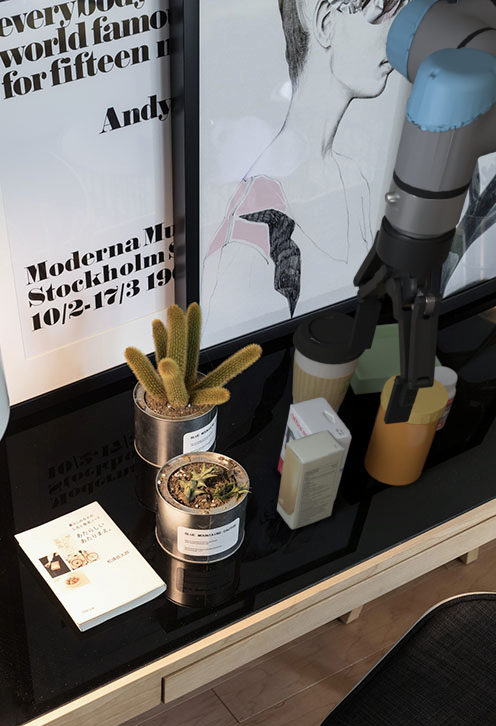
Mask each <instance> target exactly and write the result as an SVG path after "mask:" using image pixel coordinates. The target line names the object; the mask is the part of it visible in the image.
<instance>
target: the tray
mask: <svg viewBox="0 0 496 726" xmlns="http://www.w3.org/2000/svg"><path fill="white" fill-rule="evenodd" d="M438 366H442V364H441V361H440V360H439V359H438V357H437V356H436V360H435V367H438ZM442 367H443V366H442ZM398 374H400V353H399V330H398V322H397V323H390V324H388V323H387V324H379V325H378V324H377V326H376V330H375V334H374V338H373V342H372V346H371V349H365V351H364V352H363V354H362V355H361V356H360V357H359V358H358V361H357V366H356V369H355V371H354V374H353V376H352V379H351V381H350V384H349V385H350V386H351V388H352V390H353V393H354V395H364V394H372V393H382V391H383V387H384V385H385V383H386V382H387V381H388V380H389V379H390V378H391V377H393V376H395V375H398Z"/></svg>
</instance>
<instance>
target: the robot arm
mask: <svg viewBox="0 0 496 726" xmlns="http://www.w3.org/2000/svg"><path fill="white" fill-rule="evenodd" d="M385 57H386V61H387V62H388V64H389V66H390V67H391V68H392V69H393V70H395V71H396V72H397V73H399V74H400V75H401V76H402V77H403V78H405V80H406V81H407V82H408V83H410V84H412V88H411V92H410V95H409V97H408V99H407V102H406V107H405V115H404V120H403V124H402V129H401V134H400V139H399V144H398V149H397V154H396V158H395V163H394V167H393V171H392V177H391V181H390V185H389V189H388V192H386V193H385V194H384V201H385V207H384V215H383V216H382V218H381V222H380V226H379V230H376V233H375V236H374V239H373V243H372V246H371V247H370V249H369V251H368V253H367V255H366V256H365V258H364V259H363V261H362V263H361V265H360V267H359V268H358V270H357V271H356V273H355V276H353V279H352V284H353V286H354V287H355V288H358V290H357V291H356V298H357V300H358V302H357V307H356V310H355V315H354V323H353V327H352V332H351V336H350V341H349V345H348V349H349V351H357V350H365V349H371V346H372V342H373V338H374V334H375V330H376V326H378V322H379V317H380V314H381V310H382V306H383V304H382V303H383V302H381V300H376V299H385V297H386V296H385V294H386V293H387V295H388V296H389V297H390V298H391V302H392V313H393V314H392V315H393V318H394V320H396V321H397V323H398V330H399V353H400V375H397V376H396V378H395V379H394V385H393V388H392V392H391V395H390V399H389V402H388V406H387V409H386V413H385V417H384V422H385V424H393V423H402V422H408V421H409V417H410V414H411V411H412V408H413V404H414V403H415V399H416V396H417V393H418V390H419V389H420V388H428V387H433V385H434V374H435V360H436V357H437V345H438V344H437V343H438V329H439V317H440V313H441V308H442V305H443V296H442V294H441V293H434V294H433V293H431V291H430V288H431V275H432V274H433V272H435V271H436V270H437V269H438V268H440V267H442V266H443V265H444V264H445V263H446V262H447V261H448V258H449V256H450V253H451V249H452V246H453V242H454V240H455V236H456V233H457V226H458V225H459V224H460V220H461V217H462V213H463V210H464V206H465V203H466V199H467V197H468V192H469V190H470V187H471V183H472V180H473V176H474V172H475V169H476V167H477V163H478V160H479V159H480V158H481V157H484V156H487V155H490V154H495V153H496V0H459V1H457V2H454V3H449V2H448V1H447V0H410V1H409V2H407V3H406V4H405V5H404V6H403V7H402V8H401V9H400V10H399V11H398V13H397V14H396V16H395V17H394V19H393V20H392V22H391V24H390V27H389V29H388V32H387V36H386V42H385ZM409 307H410V308H411V309H410V310H404V309H403V308H409Z"/></svg>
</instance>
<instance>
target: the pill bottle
mask: <svg viewBox="0 0 496 726" xmlns="http://www.w3.org/2000/svg"><path fill="white" fill-rule="evenodd" d="M434 379H436V380H437V381H439V382H440V383H441V384H442V385H443V386H444V387H445V389H446V390H447V393H448V402H447V405H446V409H445V412H444V413H443V414H442V416H441V419H440V422H439V425H438V428H437V430H436V431H438V430H439V431H440V430H441V429H442V428H443V427H444V426H445V424H446V421H447V418H448V415H449V413H450V410H451V407H452V404H453V402H454V399H455V396H456V392H457V389H456V386H457V381H458V374H457V373H456V371H455V370H453V368H450V367H447V366H438V367H435V374H434Z"/></svg>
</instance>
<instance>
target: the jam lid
mask: <svg viewBox="0 0 496 726" xmlns="http://www.w3.org/2000/svg"><path fill="white" fill-rule="evenodd" d="M398 375H400V374H398ZM396 376H397V375H395V376H393V377H391V378H390V379H389V380H388V381H387V382H386V383H385V385H384V387H383V391H382V392H381V394H380V402H381V404H382V407H383V409H384V410H385V411H386V409H387V406H388V402H389V399H390V395H391V392H392V388H393V385H394V379H395V378H396ZM447 402H448V393H447V390H446V389H445V387H444V386H443V385H442V384H441V383H440V382H439V381H437V380H436V379H434V385H433V387H428V388H420V389H419V390H418V393H417V396H416V399H415V403H414V404H413V408H412V411H411V414H410V417H409V421H408V422H405V423H409V424H428V423H431V422H434V421H436V420H437V419H439V418H440V417H441V416H442V414H443V413H444V412H445V409H446V405H447Z"/></svg>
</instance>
